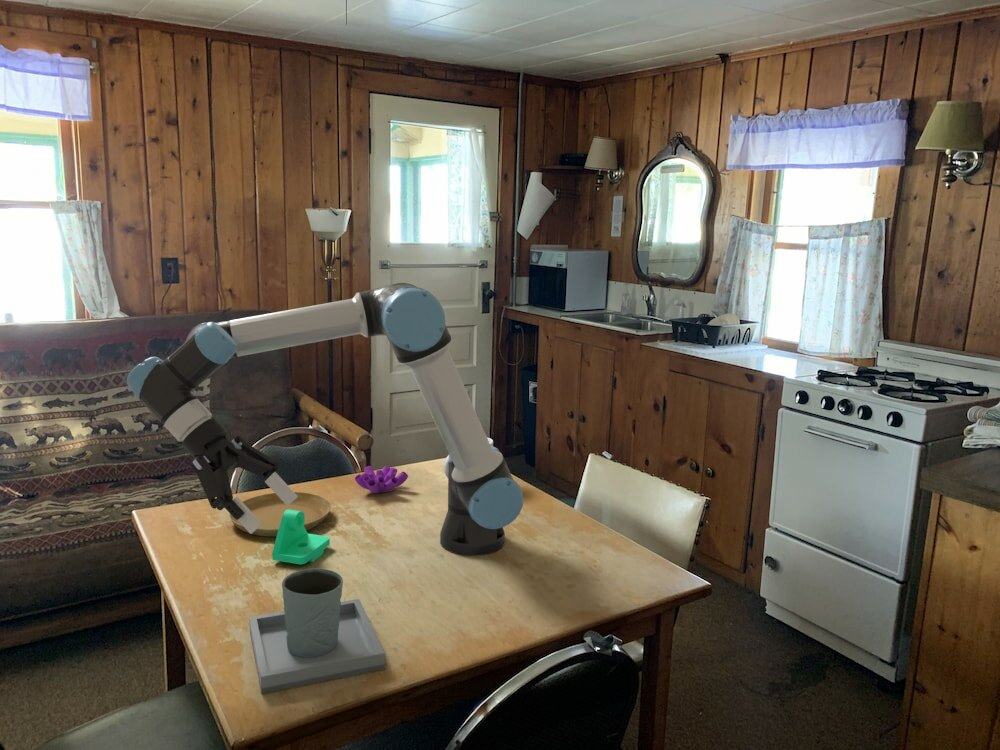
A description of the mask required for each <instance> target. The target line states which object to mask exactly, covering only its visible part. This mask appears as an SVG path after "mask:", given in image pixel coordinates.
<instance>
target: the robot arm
mask: <svg viewBox="0 0 1000 750" xmlns="http://www.w3.org/2000/svg"><path fill="white" fill-rule="evenodd" d="M355 335H362V336H363V337H365V338H370V337H377V336H386V339H387V341H388V342H389V345H390V346H391V349H392V351H393V352H394V355H395V357H396V359H397V361H398V364H400V365H403V366H404V367H408V369H410V373H411V374H412V376H413V378H414V380H415V382H416V383H415V384H416V385H417V387H418V389H419V392H420V393H421V396H422V398H423V400H424V402H425V405H426V406H427V409H428V411H429V412H430V416H431V417H432V420H433V422H434V423H435V425H436V429H437V430H438V432H439V435H440V437H441V439H442V440H443V441H442V442H443V444H444V446H445V448H446V450H447V452H448V455H449V460H448V478H447V483H448V484H447V487H448V488H447V513H446V516H445V518H444V521H443V524H442V526H441V530H440V533H439V535H440V536H439V543H440V545H441V547H442V548H444V550H446V551H448V552H451V553H454V554H459V555H466V556H481V555H488V554H492V553H495V552H497V551H499V550H501V549H502V548H503V547H504V546H505V544H506V541H505V539H506V534H505V532H506V531H505V530H504V528H505V527H506V526H509V525H510V524H512V523H513V522H514V521H515V520H516V519H517V518H518V516H519V515H520V513H521V511H522V509H523V506H524V493H523V491H522V489H521V486H520V484H518V482H517V481H515V479H514V478H513V475H512V473H511V471H510V469H509V467H508V465H507V462H506V460H505V458H504V456H503V454H502V452H500V450H499V448H497V447H495V446H494V445H493V446H490V444H489V441H488V439H487V437H488V436H487V434H486V432H485V430H484V427H483V426H482V423H481V420H480V419H479V417H478V415H477V412H476V410H475V407H474V406H473V403H472V401H471V397H470V396H469V394H468V392H467V389H466V386H465V385H464V382H463V380H462V378H461V375H460V373H459V371H458V369H457V367H456V364H455V362H454V359H453V358H452V355H451V352H450V351H449V350H450V347H451V344H452V342H453V338H452V336H451V334H450V332H449V329H448V327H447V324H446V316H445V311H444V309H443V306H442V304H441V302H440V301H439V299H437V297H436V296H434V294H433V293H431V292H430V291H429V290H426V289H424V288H421V287H418V286H416V285H414V284H410V283H407V282H396V283H391V284H388V285H385V286H381V287H378V288H374V289H373V288H372V289H370V290H364V291H359V292H356V293H355V294H354V296H353V297H352V298H348V299H343V300H336V301H331V302H326V303H322V304H315V305H310V306H303V307H298V308H297V307H296V308H292V309H286V310H280V311H276V312H275V311H274V312H271V313H270V312H269V313H264V314H258V315H253V316H247V317H241V318H237V319H236V318H235V319H231V320H226V321H220V322H214V321H208V322H202V323H200V324H196V326H194V327H193V328H191V330H190V331H189V333H188V334H187V338H186V339H185V341H184V342H183V343H182V344H181V345H180V346H179V347H178V348H177V349H176V350H175V351H174V352H173V353H172V354H170V355H169V356H168V357H167V358H165V359H164V360H163V359H161V358H160V357H158V356H151V357H148V358H145V359H144V360H143V361H142V362H140V363H138V364H136V366H134V367H133V368H132V370H131V371H130V372H129V373H128V375H127V376H126V384H127V386H128V387H129V389H130V390H131V391H132V393H133V394H134V395H135V396H136V398H137V399H138V401H139V402H140V403H142V404H143V406H145V408H147V409H148V411H150V412H151V414H152V415H154V417H156V419H157V420H158V421H159V422H160V423H161V424H162V425H163V426H164V427H165V428H166V429H167V430H168V431H169V433H170V434H171V435H172V436H173V437H174V438H175V439H176V440H177V442H181V444H182V445H181V446H182V447H183V448H184V450H186V452H188V454H189V455H190V456H191V457H192V458H193V459H194V460H193V461H192V462H191V463H190V465H189V466H190V467H191V468H192V470H193V471H194V472H195V473H196V475H197V478H198V479H199V482H200V484H201V486H202V489H203V492H204V494H205V495H206V499H207V500H208V503H209V506H210V507H211V508H212V509H215V510H216V509H217V510H218V511H222V510H223V509H225V510H226V511H227V512H228V513H230V514H231V515H232V516H233V517H234V518H235V519H236V520H238V521H239V522H240V523H241V524H242V525H243V526H244V527H245V529H246V530H247V531H248V532H249V533H250V535H253V534H252V533H253V532H254V531H255V530H256V529H257V528H258V527H259V526H260V525H261V524H262V523H261V521H260V520H259V519H258V518H257V517H256V516H255V515H254V514H253V513H252V512H251V511H250V510H249V509H248V507H247V506H246V505H245V504H244V503H243V502H242V501H243V500H241V499H240V498H239V496H236V497H233V496H234V495H233V492H232V491H233V490H232V486H231V482H230V477H229V473H228V471H229V470H231V469H233V468H234V469H237V468H239V469H242V470H245V471H247V472H249V473H252V474H254V475H256V476H259V477H261V478H264V479H266V480H264V483H265V484H266V485H267V487H269V488H270V489H271V490H272V491H273V493H276V494H277V495H278V497H279V498H280V499H281V500H282V501H283V502H284V503H285V504H286V505H287V506H289V505H290V504H291V503H292V502H293V501H294V500H295V499H296V498H297V497H298V496H297V495H296V494H295V493H294V492H295V491H294V490H293V489H292V488H291V487H290V486H289V485H288V484H287V483H286V481H285V480H284V479H283V478H282V477H281V476H280V475H279V473H277V471H278V470H279V462H277V461H276V460H275V459H273V458H272V457H270V456H268V455H266V454H265V453H263V452H262V451H260V450H259V449H257V448H255V447H254V446H253V445H250V444H249V443H248V442H246V441H245V440H244V439H243V438H242V437H241V436H239V435H236V436H235V437H234V438H233V439H232V440H231V441H230V440H229V439H228V438H227V437H226V435H227V429H226V428H225V427H224V426H223V425H222V424H221V422H219V420H218V419H216V418H215V417H212V415H213V414H212V413H211V411H210V410H209V409H208V408H207V407H206V406H205V405H204V404H203V403H202V402H201V401H200V400H199V399H198V398H197V397H196V396H195V395H194V394H193V391H195V390H196V389H197V388H198V387H199V386H201V384H203V382H205V381H206V380H207V379H208V378H209V377H210V376H211V375H213V374H214V373H215V372H216V371H217V370H219V369H220V368H221V367H222V366H224V365H225V364H226V363H228V362H229V361H230V359H233V358H238V357H243V356H248V355H253V354H259V353H265V352H270V351H275V350H280V349H281V350H282V349H285V348H291V347H297V346H302V345H307V344H312V343H318V342H319V343H320V342H324V341H328V340H334V339H339V338H344V337H351V336H355ZM249 533H248V534H249Z"/></svg>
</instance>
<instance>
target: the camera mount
mask: <svg viewBox="0 0 1000 750" xmlns="http://www.w3.org/2000/svg"><path fill="white" fill-rule="evenodd" d="M304 522H305V515H304V513H303V512H302V511H295V510H289V509H288V510H286V511H285V512H284V513H283V515H282V519H281V522H280V526H279V530H278V533H277V536H275V540H274V541H275V542H274V545H273V549H272V552H271V554H272V555H271V557H272V558H271V560H272V561H279V562H283V563H284V562H285V563H289V564H295V565H305V564H307V563H308V562H310V563H313V562H315V561H316V560H317V559H319V557H321V556H322V555H323V554H324V550H325V549H327V548H328V547H329V546H330V544H331V543H330V541H331V540H330V537H329V536H327V535H326V536H325V535H320V534H313V533H309V532H308V530H307V531H306V529H305V527H304Z"/></svg>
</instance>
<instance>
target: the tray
mask: <svg viewBox="0 0 1000 750" xmlns="http://www.w3.org/2000/svg"><path fill="white" fill-rule="evenodd" d="M340 602H341V606H340V617H339V629H338V642H337V645H336V647H335V648H334V649H333V650H332V651H331V652H329V653H328V654H325V655H323V656H319V657H314V658H303V657H298V656H295V655H293V654H291V653H290V652H289V650H288V648H287V639H286V636H287V631H286V626H285V613H284V612H285V611H284V610H283V611H276V612H270V613H265V614H260V615H259V614H258V615H253V616H249V617H248V618H249V619H248V620H249V636H250V640H251V641H250V642H251V645H252V646H251V647H252V650H253V656H254V660H255V661H254V662H255V667H256V672H257V673H256V674H257V677H258V683H259V689H260V694H261V695H265V694H269V693H274V692H279V691H283V690H289V689H293V688H300V687H304V686H309V685H313V684H319V683H323V682H328V681H333V680H337V679H344V678H348V677H353V676H359V675H363V674H368V673H374V672H377V671H383V670H386V652H385V649H384V648H383V646H382V645H383V644H381V641H380V639H379V637H378V635H377V633H376V631H375V628H374V626H373V624H372V623H371V621H370V618H369V616H368V614H367V612H366V610H365V608H364V606H363V604H362V602H361V599H359V598H356V599H351V600H343V601H340Z"/></svg>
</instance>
